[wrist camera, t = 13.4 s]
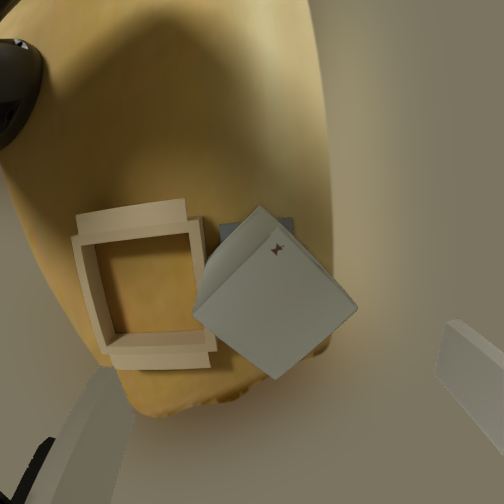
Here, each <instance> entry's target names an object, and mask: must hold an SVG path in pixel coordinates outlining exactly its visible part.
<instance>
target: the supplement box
mask: <svg viewBox="0 0 504 504" xmlns="http://www.w3.org/2000/svg"><path fill="white" fill-rule="evenodd" d="M357 309H358V307H357V305H356V303H355V302H354V301H353V300H352V299H351V298H350V297H349V295H348V294H347V293H346V292H345V290H344V289H343V288H342V287H341V286H340V285H339V284H338V283H337V282H336V280H335V279H334V278H333V277H332V276H331V275H330V274H329V273H328V271H327V270H326V269H325V268H324V267H323V266H322V265H321V264H320V263H319V262H318V261H317V260H316V259H315V258H314V256H313V255H312V254H311V253H310V252H309V251H308V250H307V249H306V248H305V247H304V246H303V245H302V244H301V243H300V242H299V241H298V240H297V239H296V238H295V237H294V236H293V235H292V234H291V233H290V232H289V231H288V230H287V229H286V228H285V227H284V226H283V225H282V224H281V223H280V222H279V221H278V220H277V219H276V218H274V217H273V216H272V215H271V214H270V213H269V212H268V211H267V210H266V209H265V208H263V207H262V206H261V205H259V206H258V207H257V208H256V209H255V210H254V211H253V212H252V213H251V214H250V215H249V216H248V217H247V218H246V219H245V220H244V221H243V222H242V223H241V224H240V225H239V226H238V227H237V228H236V229H235V230H234V231H233V232H232V233H231V234H230V235H229V236H228V237H227V238H226V239H225V240H224V241H223V242H222V243H221V244H220V245H219V246H218V247H217V248H216V249H215V250H214V251H213V253H212V254H211V255H210V256H209V257H208V259H207V263H206V266H205V270H204V273H203V277H202V280H201V284H200V287H199V291H198V294H197V298H196V302H195V305H194V309H193V313H192V316H193V317H194V318H195V319H196V320H197V321H198V322H200V323H201V324H202V325H203V326H205V327H206V328H207V329H208V330H209V331H211V332H212V333H213V334H214V335H216V336H217V337H218V338H219V339H221V340H222V341H223V342H224V343H226V344H227V345H228V346H230V347H231V348H232V349H233V350H235V351H236V352H237V353H239V354H240V355H241V356H243V357H244V358H245V359H247V360H248V361H249V362H251V363H252V364H253V365H255V366H256V367H257V368H259V369H260V370H262V371H263V372H264V373H266V374H267V375H268V376H270V377H271V378H272V379H274V380H277V379H278V378H279V377H280V376H281V375H283V374H284V373H285V372H287V371H288V370H289V369H290V368H292V367H293V366H294V365H295V364H296V363H298V362H299V361H300V360H301V359H302V358H304V357H305V356H306V355H307V354H308V353H309V352H311V351H312V350H313V349H314V348H315V347H316V346H317V345H319V344H320V343H321V342H322V341H323V340H324V339H325V338H327V337H328V336H329V335H330V334H331V333H332V332H333V331H335V330H336V329H337V328H338V327H339V326H340V325H341V324H343V323H344V322H345V321H346V320H347V319H348V318H349V317H350V316H351V315H352V314H354V313H355V312H356V311H357Z"/></svg>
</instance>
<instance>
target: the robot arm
mask: <svg viewBox="0 0 504 504" xmlns="http://www.w3.org/2000/svg"><path fill="white" fill-rule="evenodd" d="M20 1H21V0H0V22H1V21H2V19H3V18H4V17H5V16H6V15H7V14H8V13H9V12H10V11H11V10H12V9H13V8H14V7H15V6H16V5H17V4H18V3H19V2H20ZM41 80H42V59H41V55H40V53H39V51H38V50H37V48H35V47H34V46H33V45H31V44H29V43H28V42H26V41H24V40H20V39H0V150H1V149H2V148H4V147H5V146H7V145H8V144H9V143H10V142H11V141H12V140H13V139H14V138H15V137H16V135H17V134H18V133H19V132H20V130H21V129H22V127H23V126H24V124H25V123H26V121H27V119H28V117H29V115H30V113H31V111H32V109H33V107H34V104H35V102H36V99H37V96H38V93H39V89H40V85H41ZM433 375H434V376H435V377H436V378H437V379H438V380H439V381H440V382H441V384H442V385H443V386H444V387H445V388H446V389H447V390H448V391H449V392H450V394H451V395H452V396H453V397H454V398H455V399H456V400H457V402H458V403H459V404H460V405H461V406H462V407H463V408H464V409H465V411H466V412H467V413H468V414H469V415H470V417H471V418H472V419H473V420H474V421H475V422H476V424H477V425H478V426H479V427H480V428H481V430H482V431H483V432H484V433H485V434H486V436H487V437H488V438H489V439H490V440H491V442H492V443H493V444H494V445H495V447H496V448H497V449H498V450H499V452H500V453H501V454H502V455H503V456H504V353H503V352H502V351H500V350H499V349H498V348H497V347H495V346H494V345H493V344H491V343H490V342H489V341H487V340H486V339H485V338H484V337H482V336H481V335H480V334H478V333H477V332H476V331H474V330H473V329H471V328H470V327H469V326H468V325H466V324H465V323H464V322H462V321H461V320H459V319H454V320H451V321H447V322H445V327H444V331H443V336H442V341H441V345H440V349H439V353H438V357H437V360H436V364H435V368H434V371H433ZM135 419H136V417H135V415H134V413H133V411H132V408H131V406H130V404H129V401H128V399H127V397H126V394H125V392H124V390H123V387H122V385H121V382H120V380H119V377H118V375H117V372H116V369H115V367H104V366H97V368H96V370H95V371H94V373H93V374H92V376H91V378H90V379H89V381H88V383H87V384H86V386H85V388H84V390H83V391H82V393H81V395H80V396H79V398H78V400H77V402H76V403H75V405H74V407H73V409H72V411H71V412H70V414H69V416H68V417H67V419H66V421H65V423H64V425H63V427H62V428H61V430H60V432H59V434H58V436H57V438H52V437H48V438H47V439H46V440H45V441H44V442H43V443H42V444H41V445H39V447H38V449H37V450H36V452H35V454H34V456H33V459H32V460H31V462H30V464H29V468H27V469H26V471H25V473H24V475H23V477H22V479H21V481H20V483H19V485H18V487H17V489H16V491H15V493H14V496H13V497H12V499H11V500H9V499H8V498H7V497H6V496H5V495H4V494H3V493H2V492H1V491H0V504H110V502H111V499H112V495H113V491H114V488H115V484H116V481H117V477H118V473H119V470H120V467H121V463H122V460H123V457H124V454H125V450H126V447H127V444H128V441H129V437H130V434H131V431H132V428H133V425H134V422H135Z"/></svg>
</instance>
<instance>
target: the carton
mask: <svg viewBox="0 0 504 504" xmlns="http://www.w3.org/2000/svg"><path fill="white" fill-rule="evenodd" d="M76 222H77V228H78V234H76V235H74V236H71V241H72V247H73V252H74V257H75V262H76V267H77V271H78V275H79V280H80V284H81V288H82V292H83V296H84V300H85V303H86V307H87V310H88V314H89V317H90V321H91V324H92V327H93V330H94V334H95V337H96V340H97V343H98V346H99V349H100V352H101V354H109V355H110V358H111V361H112V364H113V367H115V369H121V370H169V369H196V368H211V365H210V360H209V355H208V352H213V351H218V339H219V338H218V337H217V336H216V335H214V334H213V333H212V332H211V331H209V330H208V329H207V328H206V327H205V326H203V330H191V331H174V332H154V333H121V334H116V333H115V330H114V327H113V323H112V319H111V316H110V312H109V308H108V305H107V301H106V297H105V293H104V288H103V284H102V280H101V275H100V271H99V266H98V261H97V256H96V251H95V245H94V244H97V243H105V242H113V241H121V240H129V239H137V238H145V237H153V236H162V235H171V234H180V233H189V239H190V246H191V254H192V261H193V268H194V275H195V281H196V288H197V294H198V291H199V287H200V284H201V280H202V277H203V273H204V270H205V266H206V263H207V259H208V258H207V251H206V243H205V234H204V226H203V217H202V216H196V217H187V212H186V203H185V198H180V199H173V200H165V201H158V202H151V203H144V204H137V205H130V206H124V207H118V208H112V209H106V210H100V211H94V212H88V213H83V214H78V215H76Z"/></svg>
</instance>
